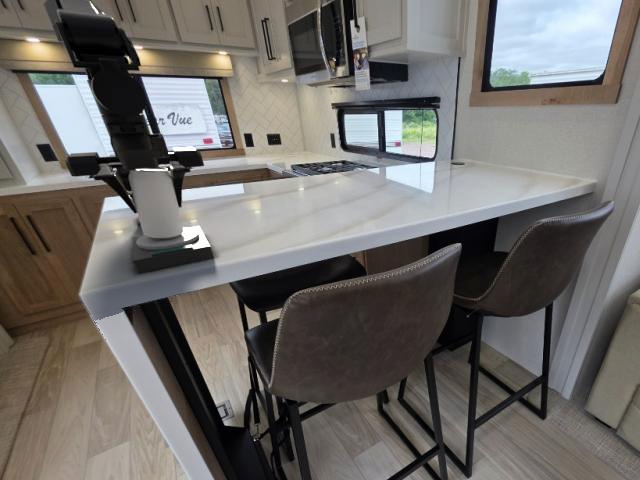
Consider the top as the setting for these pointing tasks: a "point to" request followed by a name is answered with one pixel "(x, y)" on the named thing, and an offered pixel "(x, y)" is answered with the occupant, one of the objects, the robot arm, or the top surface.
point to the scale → (170, 250)
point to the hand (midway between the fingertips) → (158, 209)
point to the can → (156, 202)
